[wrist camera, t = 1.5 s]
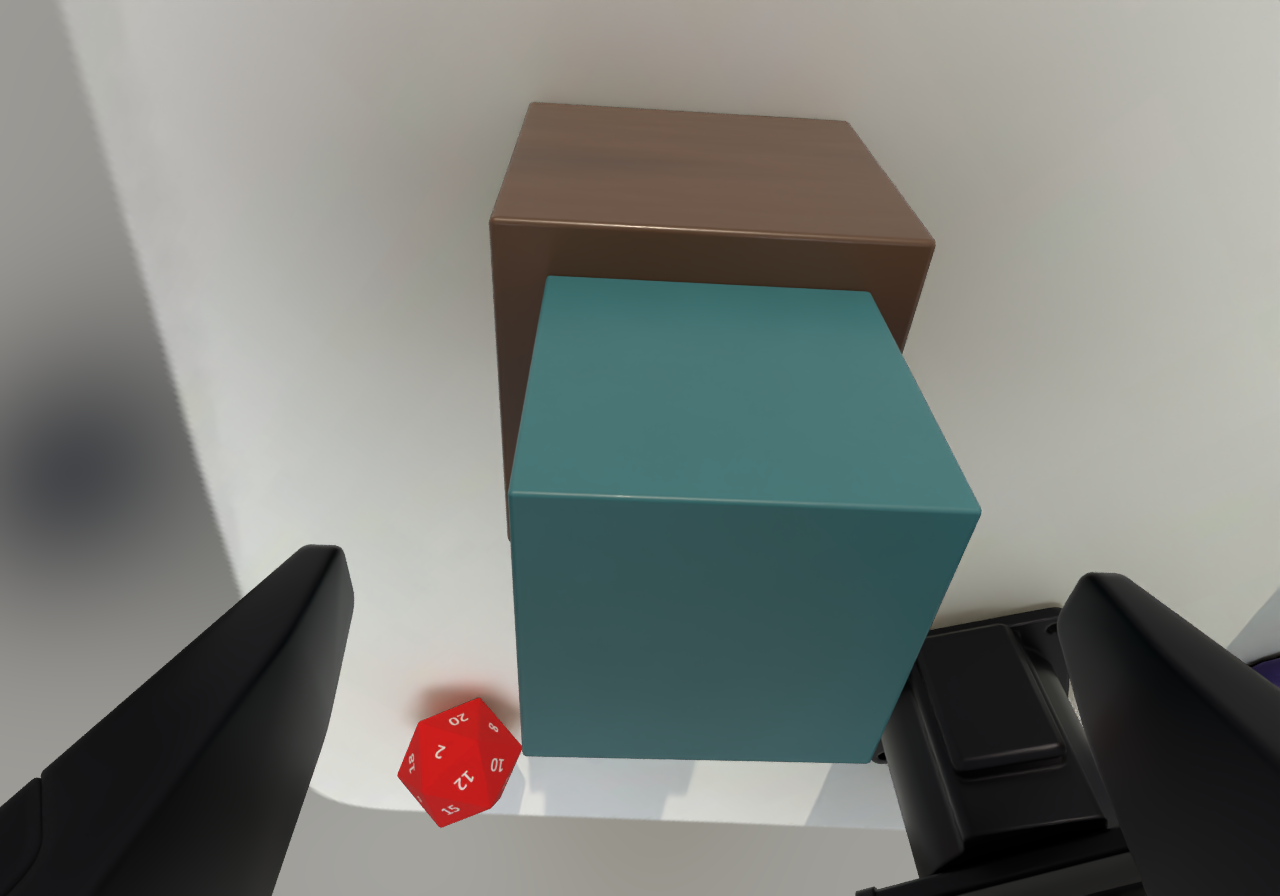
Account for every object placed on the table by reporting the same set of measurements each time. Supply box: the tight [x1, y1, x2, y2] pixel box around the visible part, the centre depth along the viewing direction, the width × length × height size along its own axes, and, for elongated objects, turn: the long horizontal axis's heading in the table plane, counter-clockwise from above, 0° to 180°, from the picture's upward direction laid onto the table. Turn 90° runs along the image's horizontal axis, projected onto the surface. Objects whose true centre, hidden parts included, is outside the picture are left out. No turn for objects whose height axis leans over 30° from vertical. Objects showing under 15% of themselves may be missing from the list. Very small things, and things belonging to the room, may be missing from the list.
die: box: [398, 698, 522, 827], centre depth 26 cm, size 4×4×4 cm
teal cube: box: [508, 276, 981, 764], centre depth 11 cm, size 4×4×4 cm
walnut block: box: [489, 102, 936, 541], centre depth 14 cm, size 6×6×6 cm
